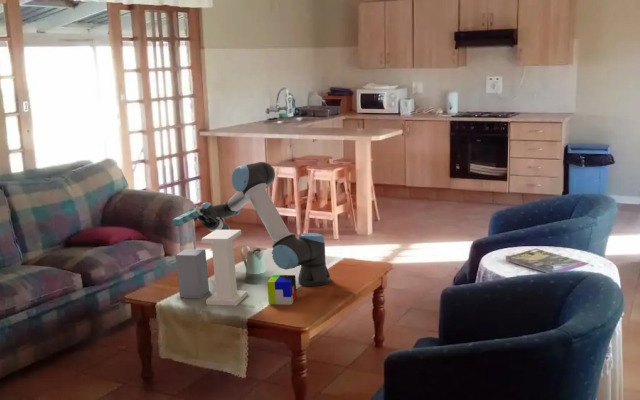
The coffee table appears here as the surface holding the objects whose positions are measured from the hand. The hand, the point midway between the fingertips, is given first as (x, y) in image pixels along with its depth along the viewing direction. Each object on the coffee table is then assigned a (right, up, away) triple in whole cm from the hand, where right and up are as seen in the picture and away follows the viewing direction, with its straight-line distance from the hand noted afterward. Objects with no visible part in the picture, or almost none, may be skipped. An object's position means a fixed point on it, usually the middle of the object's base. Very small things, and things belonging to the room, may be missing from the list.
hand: (192, 208), depth 317 cm
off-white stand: (+17, -41, -9) cm, 45 cm away
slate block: (+1, -40, +1) cm, 40 cm away
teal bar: (-1, -5, -3) cm, 6 cm away
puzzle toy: (+42, -40, -14) cm, 60 cm away
